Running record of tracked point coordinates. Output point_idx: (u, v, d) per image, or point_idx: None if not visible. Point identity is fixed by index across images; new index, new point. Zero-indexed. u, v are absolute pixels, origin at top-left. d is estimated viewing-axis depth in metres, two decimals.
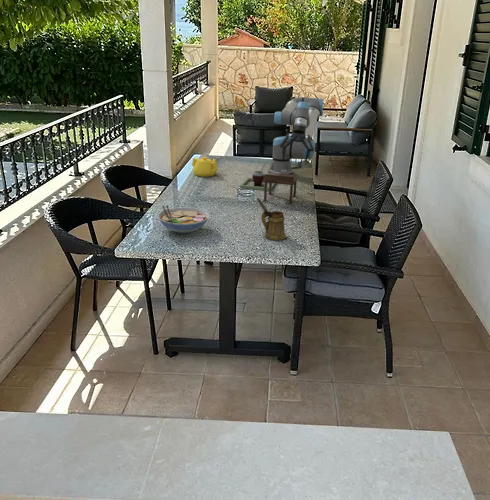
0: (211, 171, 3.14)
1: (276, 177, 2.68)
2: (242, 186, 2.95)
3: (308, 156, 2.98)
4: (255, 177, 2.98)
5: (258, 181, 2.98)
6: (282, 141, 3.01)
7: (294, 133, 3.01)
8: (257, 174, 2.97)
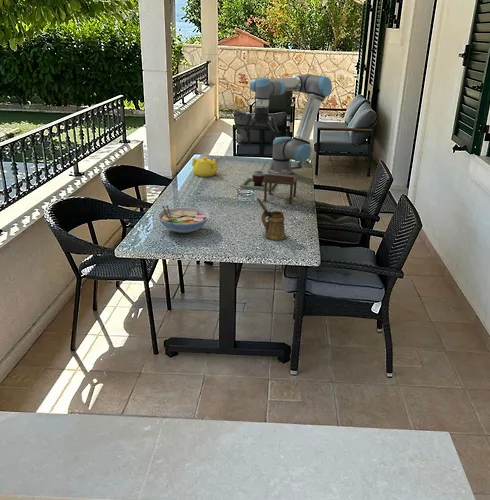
0: (211, 171, 3.14)
1: (276, 177, 2.68)
2: (242, 186, 2.95)
3: (274, 139, 2.91)
4: (255, 177, 2.98)
5: (258, 181, 2.98)
6: None
7: (257, 115, 2.86)
8: (257, 174, 2.97)
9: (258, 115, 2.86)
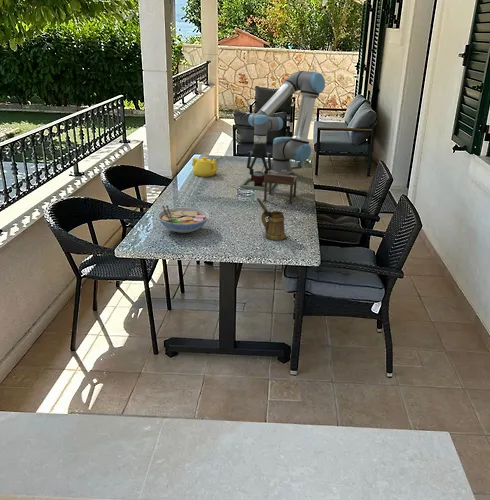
0: (211, 171, 3.14)
1: (276, 177, 2.68)
2: (242, 186, 2.95)
3: None
4: (255, 177, 2.97)
5: (258, 181, 2.98)
6: (247, 162, 2.97)
7: (254, 150, 2.94)
8: (257, 174, 2.97)
9: (256, 150, 2.94)
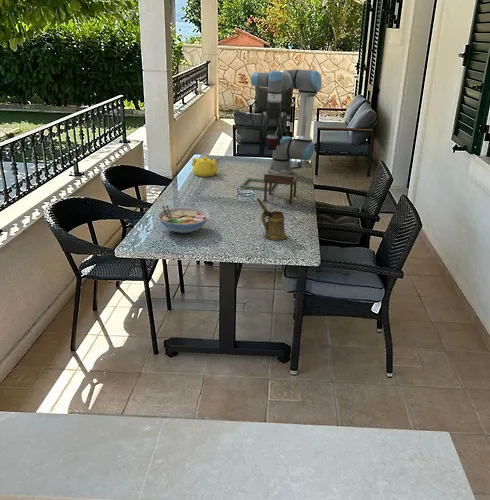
0: (211, 171, 3.14)
1: (276, 177, 2.68)
2: (242, 186, 2.95)
3: (281, 139, 2.77)
4: (269, 140, 2.75)
5: (272, 144, 2.76)
6: (260, 124, 2.75)
7: (268, 110, 2.72)
8: (271, 137, 2.74)
9: (270, 110, 2.71)
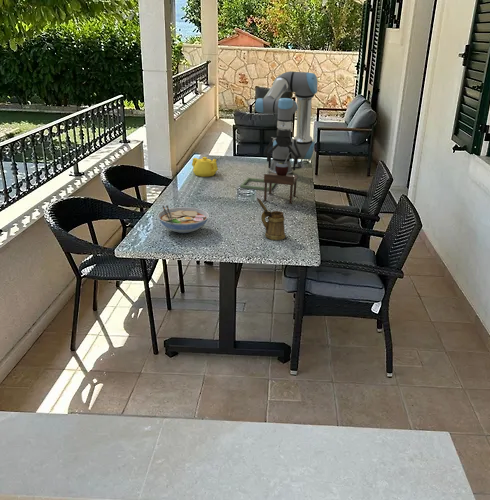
0: (211, 171, 3.14)
1: (276, 177, 2.68)
2: (242, 186, 2.95)
3: (296, 163, 2.71)
4: (279, 168, 2.70)
5: (282, 173, 2.71)
6: (266, 148, 2.70)
7: (278, 138, 2.66)
8: (281, 165, 2.70)
9: (280, 138, 2.66)
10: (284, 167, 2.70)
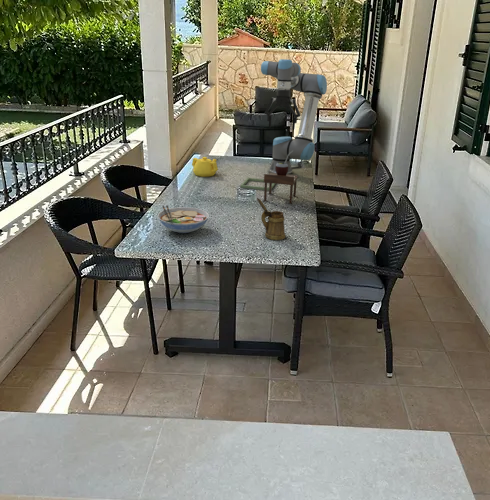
0: (211, 171, 3.14)
1: (276, 177, 2.68)
2: (242, 186, 2.95)
3: None
4: (279, 168, 2.70)
5: (282, 173, 2.71)
6: None
7: (278, 98, 2.80)
8: (281, 165, 2.70)
9: (280, 98, 2.80)
10: (284, 167, 2.70)
